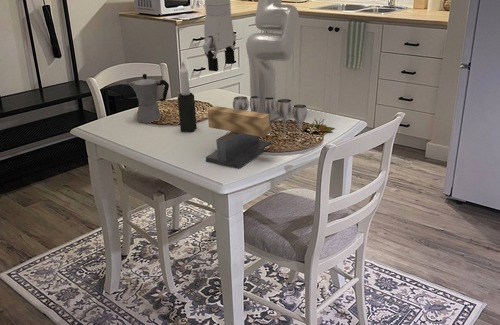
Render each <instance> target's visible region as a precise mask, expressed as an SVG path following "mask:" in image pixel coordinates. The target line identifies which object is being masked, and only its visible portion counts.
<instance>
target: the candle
mask: <svg viewBox="0 0 500 325" xmlns="http://www.w3.org/2000/svg"><path fill="white" fill-rule="evenodd" d="M179 81H180V91H181V92H180V93H179V94H178V96H177V107H178V115H179V126H180V132H182V133H194V132H195V130H197V126H198V125H197V117H196V116H197V115H196V104H195V94H194V93H192V92H191V91H190V77H189V71H188V69H187V67H186V64H185V61H181V67H180V70H179Z"/></svg>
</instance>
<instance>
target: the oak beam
mask: <svg viewBox="0 0 500 325" xmlns="http://www.w3.org/2000/svg"><path fill="white" fill-rule="evenodd" d="M207 121H208V124H207V125H208V128H211V129H216V130H222V131H226V132H231V131H232V132H238V133H243V134H249V135H254V136H259V138H260V137H261V138H264V137H266V136H265V135H267V134H269V114H264V113H258V112H251V110H247V111H245V110H238V109H233V107H225V106H224V107H223V106H218V105H217V106H216V105H213V106H212V107H209V108H207Z"/></svg>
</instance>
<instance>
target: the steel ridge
mask: <svg viewBox="0 0 500 325" xmlns="http://www.w3.org/2000/svg"><path fill="white" fill-rule="evenodd" d="M270 144H271V145H272V142H271V141H266V140H261V139H260V136H254V135H249V134H243V133H238V132H232V131H228V133H225V134H224V135H222V136H220V137H219V138H216V150H215V151H213V152H211V153H210V154H208V155H206V156H205V162H207V163H212V164H215V165H220V166H223V167H224V166H225V167H229V168H234V169H238V170H239V169H241V168H242V167H244V166H245V165H246V164H248V163H250V162H252V160H254V159H256V158H257V157H259V156H260V155H261V154H263V153H264V152H265V151H264V148H265V147H267V146H269V145H270Z"/></svg>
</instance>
